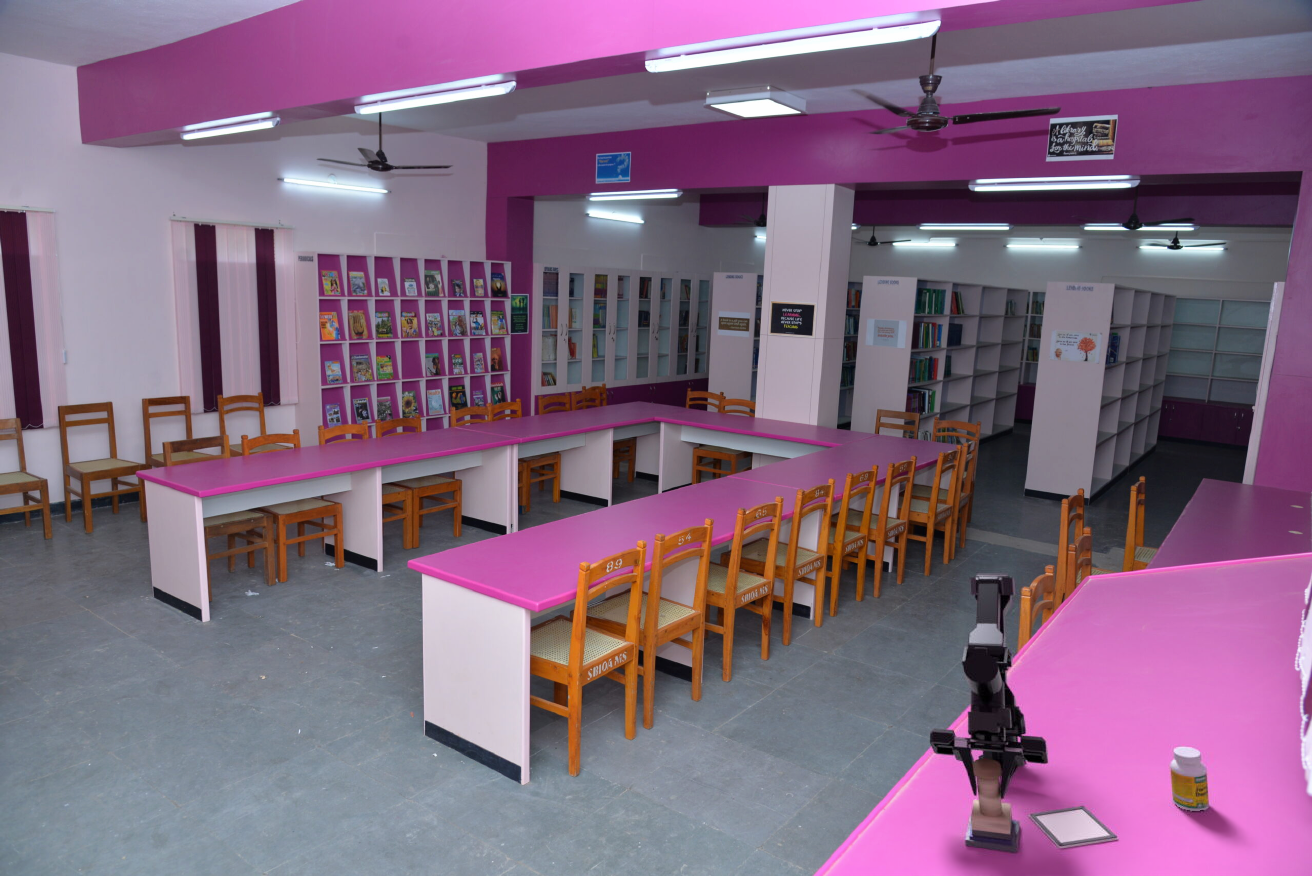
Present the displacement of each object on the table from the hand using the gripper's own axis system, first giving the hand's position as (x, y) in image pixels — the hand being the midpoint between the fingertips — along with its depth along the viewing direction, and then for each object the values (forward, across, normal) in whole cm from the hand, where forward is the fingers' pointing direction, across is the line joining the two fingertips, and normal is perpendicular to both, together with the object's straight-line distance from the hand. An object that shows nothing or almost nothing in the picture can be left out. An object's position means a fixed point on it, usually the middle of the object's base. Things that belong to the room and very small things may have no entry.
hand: (988, 796), depth 141 cm
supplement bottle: (-8, +31, +19) cm, 37 cm away
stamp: (+3, 0, +6) cm, 7 cm away
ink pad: (+4, 0, +7) cm, 8 cm away
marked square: (0, +12, +10) cm, 16 cm away
